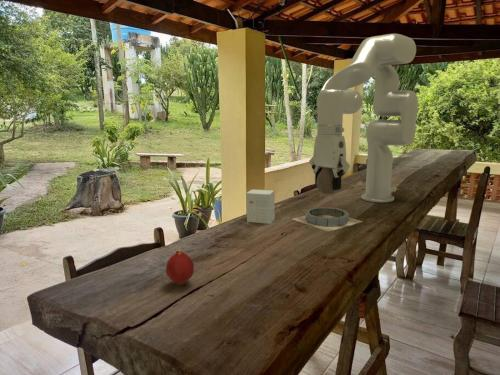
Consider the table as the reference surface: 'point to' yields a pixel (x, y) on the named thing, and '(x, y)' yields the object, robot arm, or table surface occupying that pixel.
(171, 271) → the onion
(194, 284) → the table surface
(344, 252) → the table surface
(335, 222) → the ring collar
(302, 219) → the birch board
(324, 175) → the vase
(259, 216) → the small box
